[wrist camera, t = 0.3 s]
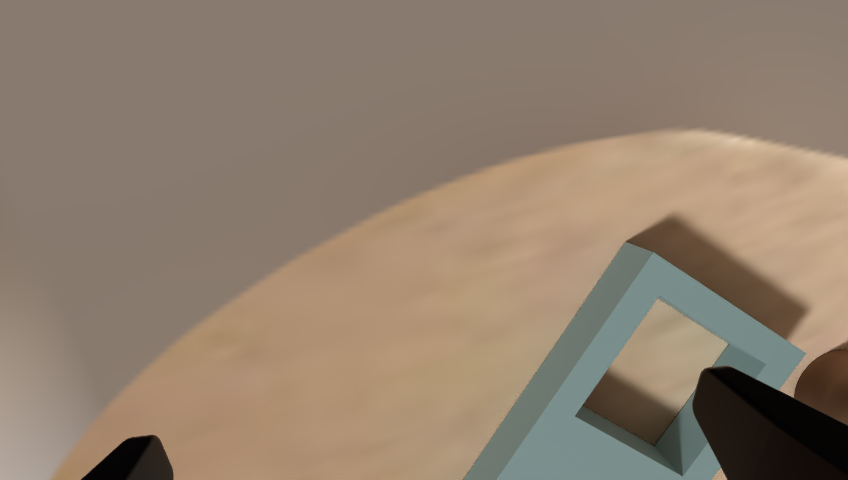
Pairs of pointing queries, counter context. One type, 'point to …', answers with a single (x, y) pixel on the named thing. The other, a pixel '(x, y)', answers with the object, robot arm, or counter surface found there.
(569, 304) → the counter surface
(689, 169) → the counter surface
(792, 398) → the robot arm
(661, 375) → the counter surface
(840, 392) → the pepper mill
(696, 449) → the socket stand
